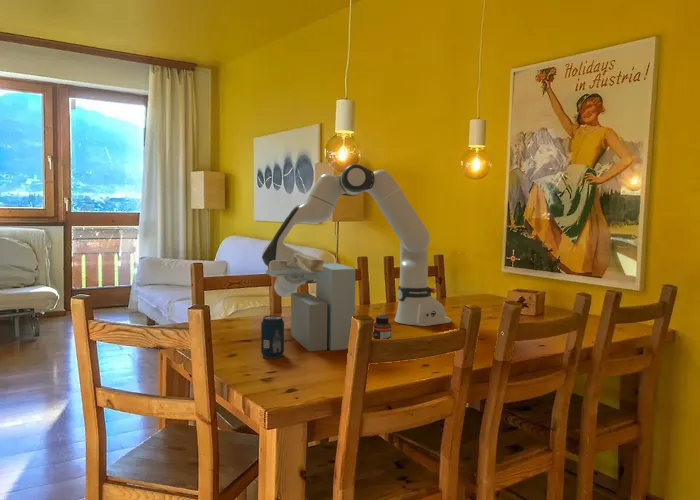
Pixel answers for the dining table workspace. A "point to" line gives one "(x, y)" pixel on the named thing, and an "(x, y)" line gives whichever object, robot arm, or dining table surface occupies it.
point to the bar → (309, 262)
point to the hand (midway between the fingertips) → (302, 258)
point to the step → (309, 321)
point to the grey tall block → (337, 302)
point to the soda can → (272, 336)
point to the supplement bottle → (382, 328)
